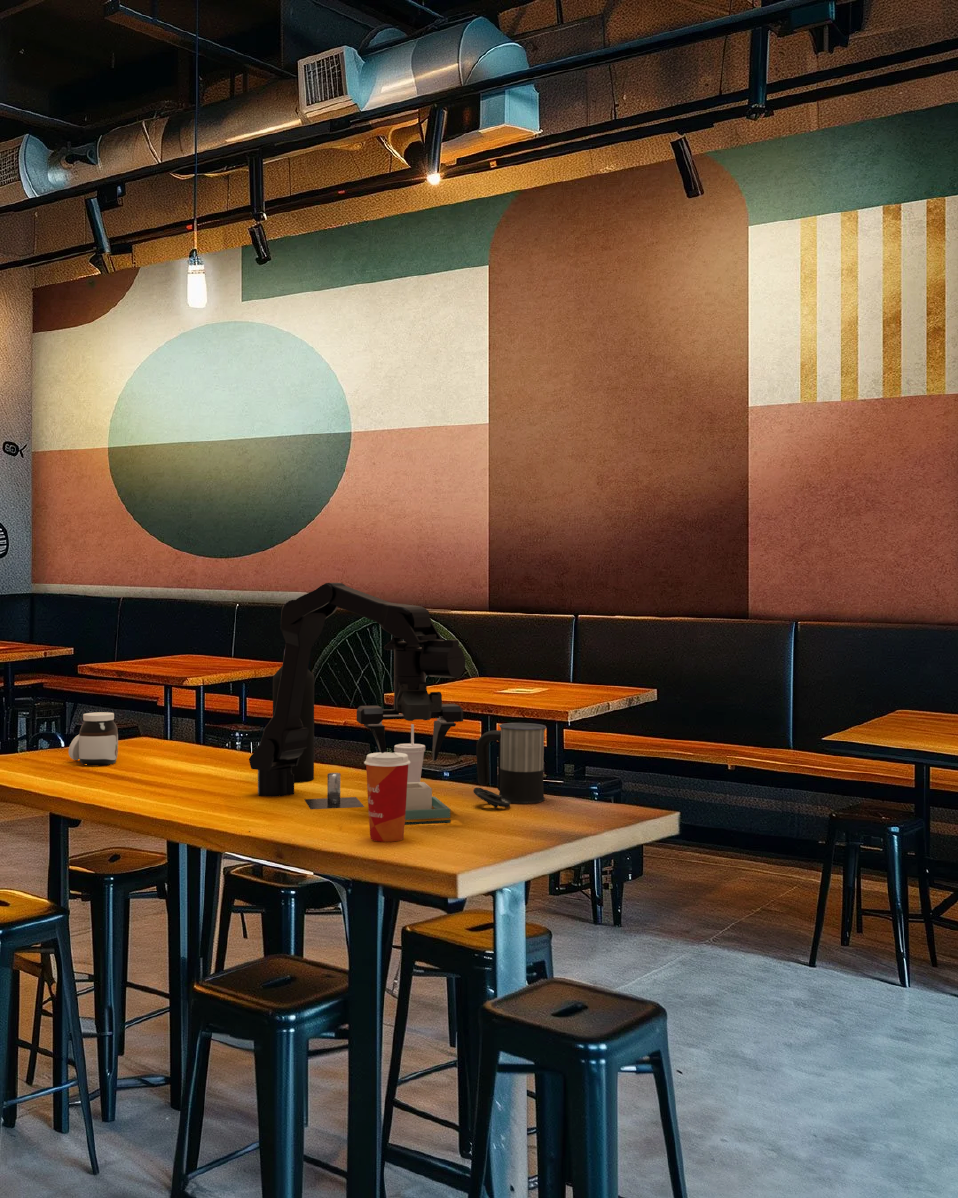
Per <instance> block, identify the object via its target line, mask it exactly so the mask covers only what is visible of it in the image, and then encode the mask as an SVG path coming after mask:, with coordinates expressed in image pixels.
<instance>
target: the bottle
mask: <svg viewBox="0 0 958 1198" xmlns="http://www.w3.org/2000/svg"><path fill="white" fill-rule="evenodd" d="M284 653H285V649H284V651H283V654H284ZM281 671H282V666H280V668H279V669H278V670H277V671H276V672H275V674H274V675H273V677H272V717H273V716H274V714H275V709H276V702H277V696H278V690H279V684H280V678H281ZM300 720H301V722H302V725H303V727H304V728H308V729H309V733H308V736H307V748H304V751H303V753H302V755H300V759H299V762H298V765H297V766H290V767H291V773H293V775H294V784H295V783H297V784H298V783H306V782H310V781H313V780H314V779H315V675H314V674H313V673H312V671H310V669H309V668H308V671H307V677H306V683H305V689H304V695H303V702H302V708H301V714H300Z"/></svg>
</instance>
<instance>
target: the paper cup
mask: <svg viewBox="0 0 958 1198" xmlns="http://www.w3.org/2000/svg"><path fill="white" fill-rule="evenodd" d="M363 763H364V765H365V766H366V769H365V770H366V786H367V791H366V792H367V808H368V823H369V824H368V825H369V836H370V840H371V841H374V842H379V843H392V842H393V843H394V842H400V841H402V840H404V838H405V826H406V825H405V822H406V820H405V813H406V797H407V780H408V764H410V761H409V760H408V755H407V754H404V753H397V752H396V751H394V752H390V751H389V752H388V751H386V752H384V753H381V752H380V751H379V752H373V753H372V752H371V753H368V754H367V755H366V759H365V760H364V762H363Z"/></svg>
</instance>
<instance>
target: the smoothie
mask: <svg viewBox="0 0 958 1198" xmlns="http://www.w3.org/2000/svg"><path fill="white" fill-rule="evenodd" d="M393 751H394V752H397V753H404V754H407V755H408V760H409V761H410V764H408V780H407V783H409V782H421V780H422V779H421V776H422V770H423V763H424V754H425V751H426V745H425V744H421V743H415V724H413V723H411V724H410V743H398V744H395V745H394V747H393Z"/></svg>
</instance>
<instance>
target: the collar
mask: <svg viewBox="0 0 958 1198" xmlns="http://www.w3.org/2000/svg"><path fill="white" fill-rule="evenodd" d="M432 797H433V788H432V787H430V785H428V784H427V783H426V782H425V781H420V782H409V783H407V797H406V810H421V809H433V806H432Z"/></svg>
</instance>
